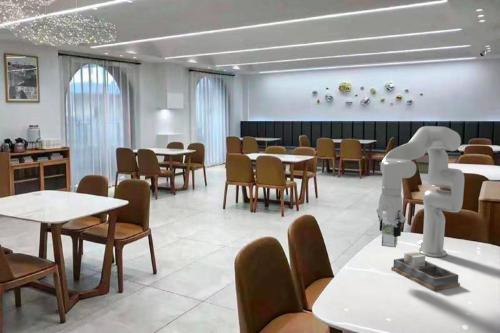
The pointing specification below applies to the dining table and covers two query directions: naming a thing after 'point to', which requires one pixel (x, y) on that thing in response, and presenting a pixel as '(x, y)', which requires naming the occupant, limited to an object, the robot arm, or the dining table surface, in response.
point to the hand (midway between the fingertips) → (389, 233)
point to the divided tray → (425, 272)
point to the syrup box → (388, 232)
